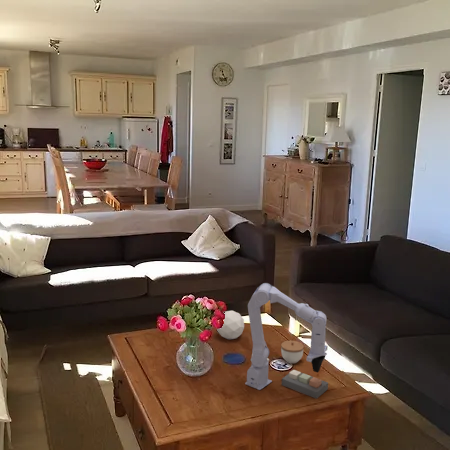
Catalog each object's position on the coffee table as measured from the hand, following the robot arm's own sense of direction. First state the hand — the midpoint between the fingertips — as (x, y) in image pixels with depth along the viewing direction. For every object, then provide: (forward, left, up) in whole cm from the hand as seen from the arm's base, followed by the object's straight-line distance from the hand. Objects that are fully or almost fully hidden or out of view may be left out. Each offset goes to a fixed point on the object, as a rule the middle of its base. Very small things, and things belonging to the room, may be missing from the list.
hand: (316, 371), depth 214 cm
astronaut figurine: (+8, +34, -10) cm, 37 cm away
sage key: (0, +5, -7) cm, 8 cm away
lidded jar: (+17, +22, -9) cm, 30 cm away
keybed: (0, +5, -9) cm, 10 cm away
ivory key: (0, +10, -7) cm, 12 cm away
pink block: (0, 0, -7) cm, 7 cm away
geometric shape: (+18, +60, -9) cm, 63 cm away
